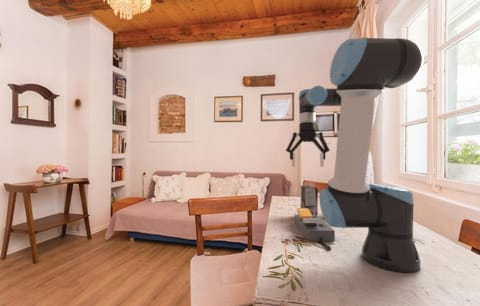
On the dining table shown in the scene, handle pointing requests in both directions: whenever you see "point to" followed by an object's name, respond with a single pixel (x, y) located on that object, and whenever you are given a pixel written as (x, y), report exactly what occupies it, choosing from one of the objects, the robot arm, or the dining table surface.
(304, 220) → the grey rocker
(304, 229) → the power strip
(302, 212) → the amber rocker
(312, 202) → the coffee box
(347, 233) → the dining table surface
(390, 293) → the dining table surface
